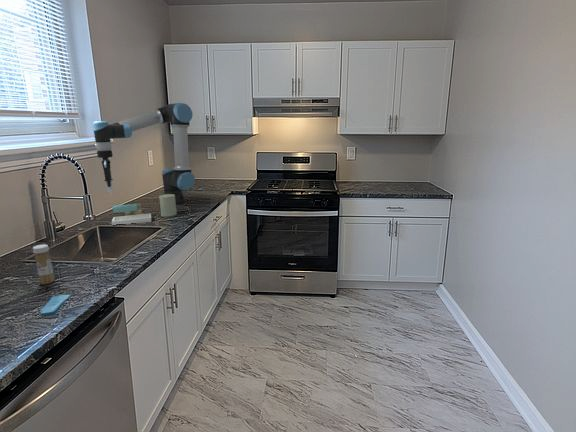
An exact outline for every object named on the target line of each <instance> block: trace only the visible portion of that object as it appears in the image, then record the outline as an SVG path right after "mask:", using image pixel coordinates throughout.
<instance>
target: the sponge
mask: <svg viewBox="0 0 576 432" xmlns="http://www.w3.org/2000/svg"><path fill="white" fill-rule="evenodd" d="M69 298H71V294H62V295H60V294H59V295H53V296H52V297H51V298H50V299H49V300H48V302H46V303H45V305H44V306H43V307H42V308H41V310H40V313H39V314H40V316H47V315H55V314H56V313H57V311H58V310H59V309H60V308H61V307H62V306H64V304H65V303H66V302H67V301H68V300H69Z"/></svg>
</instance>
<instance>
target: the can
mask: <svg viewBox="0 0 576 432" xmlns="http://www.w3.org/2000/svg"><path fill="white" fill-rule="evenodd" d="M158 199H159V206H160V216H161V217H174V216H176V215H177V214H178V212H177V204H176V202H175V195H174V194H165V195H164V194H161V195H159V196H158Z"/></svg>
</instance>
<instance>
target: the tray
mask: <svg viewBox="0 0 576 432" xmlns="http://www.w3.org/2000/svg"><path fill="white" fill-rule="evenodd" d="M151 222H152V213H142V214H140V215H130V216H125V215H123V216H114V217H113V218H112V220H111V226H112V225H116V224H126V225H132V224H131V223H136V224H143V223H151Z"/></svg>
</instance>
